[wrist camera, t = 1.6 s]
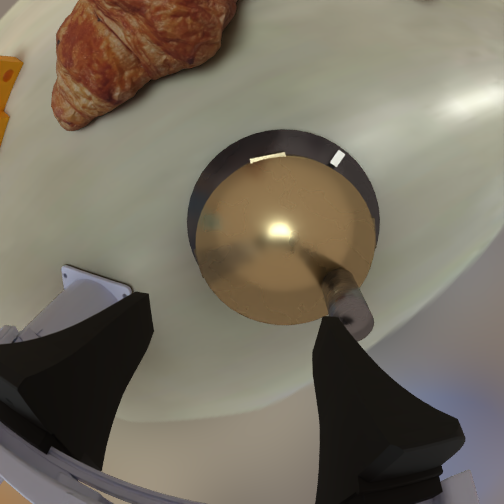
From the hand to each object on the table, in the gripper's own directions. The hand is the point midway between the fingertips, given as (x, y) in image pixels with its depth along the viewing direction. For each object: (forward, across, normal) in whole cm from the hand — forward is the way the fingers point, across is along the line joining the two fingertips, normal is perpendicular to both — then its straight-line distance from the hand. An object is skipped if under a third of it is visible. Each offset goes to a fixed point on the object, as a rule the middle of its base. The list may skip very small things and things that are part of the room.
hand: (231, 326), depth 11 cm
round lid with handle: (+8, -2, -1) cm, 8 cm away
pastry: (+10, +8, -16) cm, 21 cm away
